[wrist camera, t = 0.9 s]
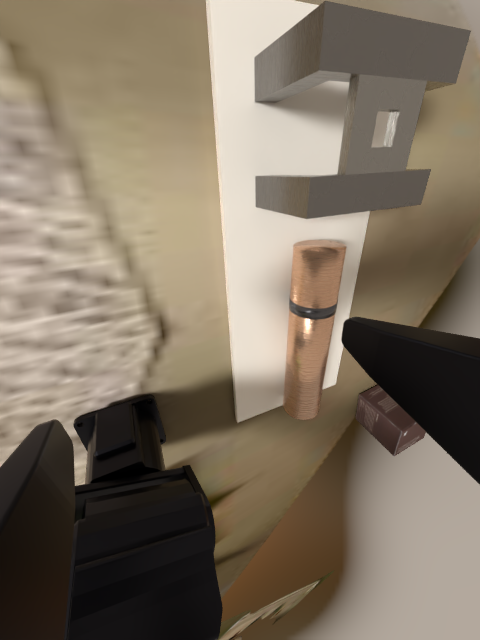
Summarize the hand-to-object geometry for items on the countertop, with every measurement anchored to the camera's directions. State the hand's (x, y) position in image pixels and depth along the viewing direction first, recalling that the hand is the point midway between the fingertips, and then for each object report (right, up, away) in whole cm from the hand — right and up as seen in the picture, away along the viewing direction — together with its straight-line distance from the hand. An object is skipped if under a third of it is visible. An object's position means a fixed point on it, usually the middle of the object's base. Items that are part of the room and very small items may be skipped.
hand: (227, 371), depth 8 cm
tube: (+6, +1, +19) cm, 20 cm away
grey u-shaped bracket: (+5, +15, +11) cm, 19 cm away
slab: (+6, +6, +16) cm, 18 cm away
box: (+21, -11, +34) cm, 41 cm away
